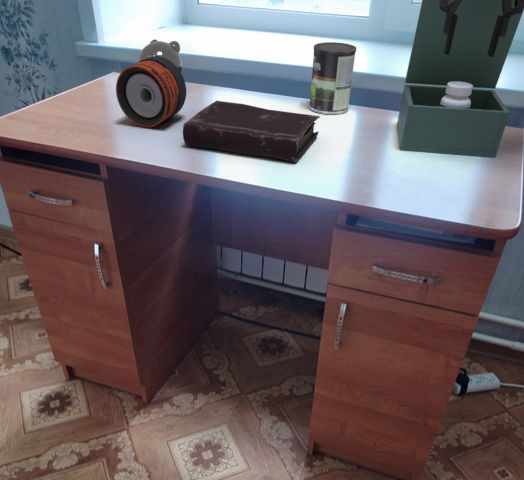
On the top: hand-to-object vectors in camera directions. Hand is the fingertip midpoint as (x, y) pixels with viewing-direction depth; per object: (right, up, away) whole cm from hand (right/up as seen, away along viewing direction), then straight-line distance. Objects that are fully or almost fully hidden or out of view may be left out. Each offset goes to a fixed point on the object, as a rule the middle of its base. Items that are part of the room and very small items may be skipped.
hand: (468, 54), depth 100 cm
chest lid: (+1, +6, +7) cm, 9 cm away
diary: (-43, -13, +11) cm, 46 cm away
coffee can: (-24, +4, +30) cm, 39 cm away
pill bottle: (0, -13, +11) cm, 17 cm away
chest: (0, -11, +14) cm, 18 cm away
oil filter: (-66, -4, +20) cm, 70 cm away
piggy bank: (-69, +14, +41) cm, 82 cm away
